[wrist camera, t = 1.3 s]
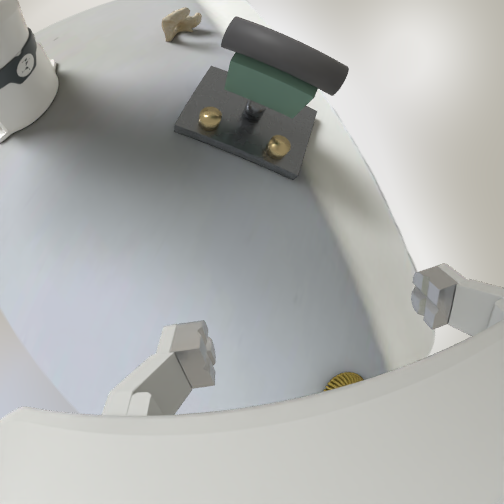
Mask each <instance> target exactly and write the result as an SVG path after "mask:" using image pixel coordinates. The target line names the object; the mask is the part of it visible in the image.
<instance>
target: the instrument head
mask: <svg viewBox="0 0 504 504" xmlns="http://www.w3.org/2000/svg"><path fill="white" fill-rule="evenodd" d="M221 47H223V48H226V49H229V50H232V51H234V52H235V54H234V56H233V57H232V59H231V61H230V65H229V70H228V74H227V79H226V83H225V88H224V90H227V91H229V92H232V93H235V94H237V95H240V96H242V97H245V98H247V99H250V100H252V101H254V102H257V103H259V104H261V105H264V106H266V107H268V108H270V109H273V110H275V111H277V112H279V113H281V114H284V115H286V116H288V117H290V118H292V119H293V118H294V117H295V116H296V115H297V114H298V113H299V112H300V111H301V110H302V109H303V108H304V107H305V106H306V105H307V104H308V103H309V102H310V101H311V100H312V99H313V98H314V97H315V94H316V92H317V89H320V90H322V91H324V92H326V93H328V94H330V95H334V94H335V93H336V92H337V91H338V90H339V89H340V87H341V86H342V84H343V82H344V81H345V79H346V76H347V74H348V70H349V69H348V67H347V66H345V65H344V64H342V63H340V62H338V61H336V60H335V59H333V58H331V57H329V56H327V55H325V54H323V53H322V52H320V51H318V50H316V49H314V48H312V47H310V46H308V45H305V44H303V43H301V42H299V41H297V40H295V39H293V38H290V37H288V36H286V35H284V34H281V33H279V32H277V31H274V30H272V29H269V28H267V27H264V26H262V25H259V24H256V23H254V22H251V21H248V20H245V19H242V18H239V17H235V18H234V19H233V20H232V21H231V23H230V24H229V26H228V28H227V30H226V32H225V34H224V37H223V39H222V43H221Z"/></svg>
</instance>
